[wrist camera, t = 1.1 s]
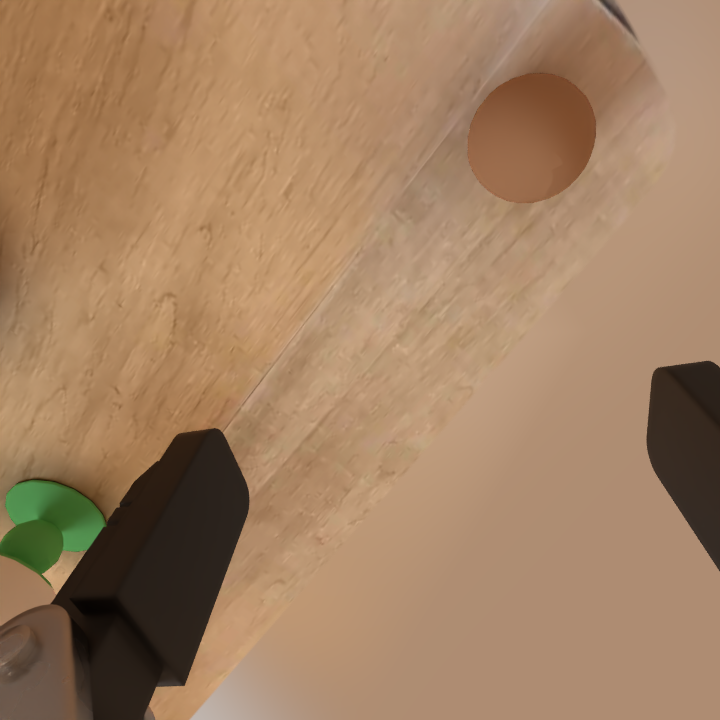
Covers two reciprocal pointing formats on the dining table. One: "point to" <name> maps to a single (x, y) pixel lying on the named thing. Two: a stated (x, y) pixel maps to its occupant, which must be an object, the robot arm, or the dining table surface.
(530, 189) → the egg
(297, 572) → the dining table surface
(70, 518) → the cup
